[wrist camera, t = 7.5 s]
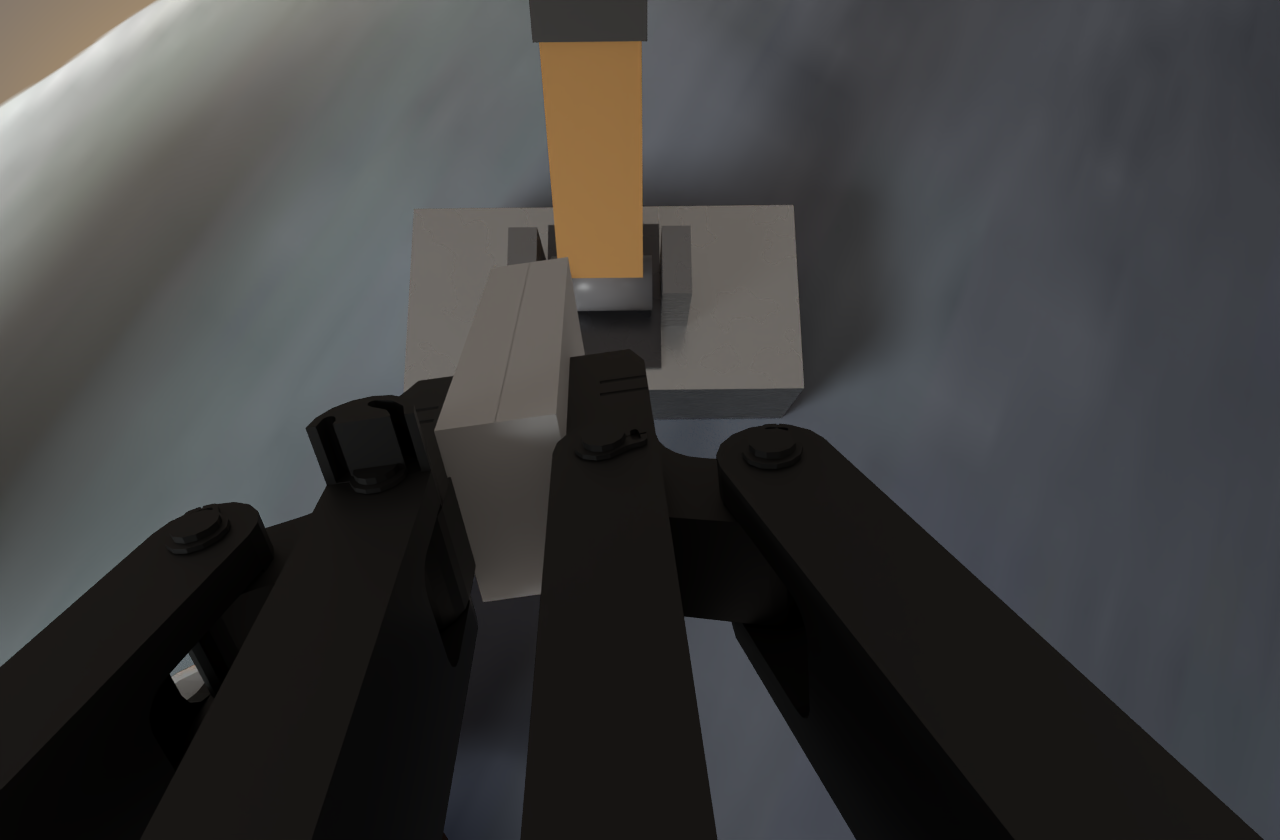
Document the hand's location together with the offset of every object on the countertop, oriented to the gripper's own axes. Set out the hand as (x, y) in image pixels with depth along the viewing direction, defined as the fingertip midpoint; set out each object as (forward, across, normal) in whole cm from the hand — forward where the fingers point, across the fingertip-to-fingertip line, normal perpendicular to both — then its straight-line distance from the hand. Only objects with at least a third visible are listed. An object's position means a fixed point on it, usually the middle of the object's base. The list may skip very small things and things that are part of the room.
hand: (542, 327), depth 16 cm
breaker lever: (+19, +1, -7) cm, 20 cm away
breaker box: (+25, 0, -10) cm, 27 cm away
